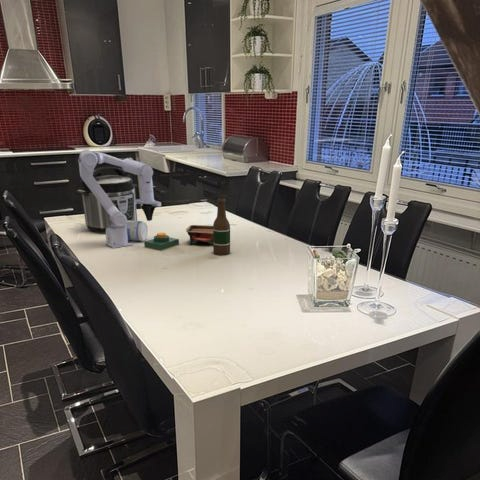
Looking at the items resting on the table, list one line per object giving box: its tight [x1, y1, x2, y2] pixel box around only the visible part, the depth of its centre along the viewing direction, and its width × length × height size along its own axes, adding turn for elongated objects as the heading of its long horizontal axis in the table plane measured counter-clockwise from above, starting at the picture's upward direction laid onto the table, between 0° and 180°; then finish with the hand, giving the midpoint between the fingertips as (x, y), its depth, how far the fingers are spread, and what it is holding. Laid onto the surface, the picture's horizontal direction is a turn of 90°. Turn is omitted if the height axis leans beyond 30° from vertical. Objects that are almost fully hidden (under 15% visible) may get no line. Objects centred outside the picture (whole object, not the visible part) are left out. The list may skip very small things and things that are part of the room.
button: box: [156, 232, 167, 238], centre depth 218 cm, size 4×4×2 cm
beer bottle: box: [212, 197, 231, 256], centre depth 205 cm, size 8×8×24 cm
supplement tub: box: [126, 220, 149, 242], centre depth 227 cm, size 10×10×15 cm
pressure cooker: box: [76, 166, 138, 234], centre depth 243 cm, size 30×28×32 cm
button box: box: [143, 234, 180, 251], centre depth 219 cm, size 13×10×4 cm
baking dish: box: [185, 224, 213, 246], centre depth 224 cm, size 14×18×10 cm
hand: (149, 220), depth 222 cm, fingers closed
